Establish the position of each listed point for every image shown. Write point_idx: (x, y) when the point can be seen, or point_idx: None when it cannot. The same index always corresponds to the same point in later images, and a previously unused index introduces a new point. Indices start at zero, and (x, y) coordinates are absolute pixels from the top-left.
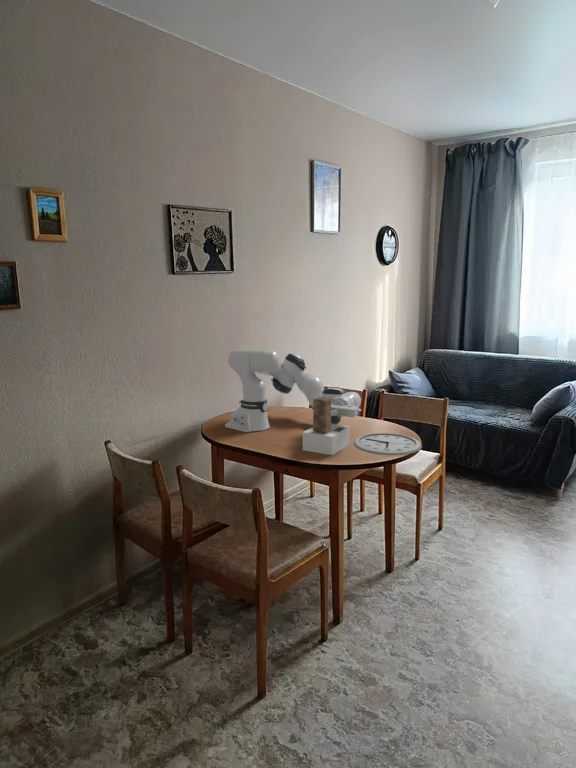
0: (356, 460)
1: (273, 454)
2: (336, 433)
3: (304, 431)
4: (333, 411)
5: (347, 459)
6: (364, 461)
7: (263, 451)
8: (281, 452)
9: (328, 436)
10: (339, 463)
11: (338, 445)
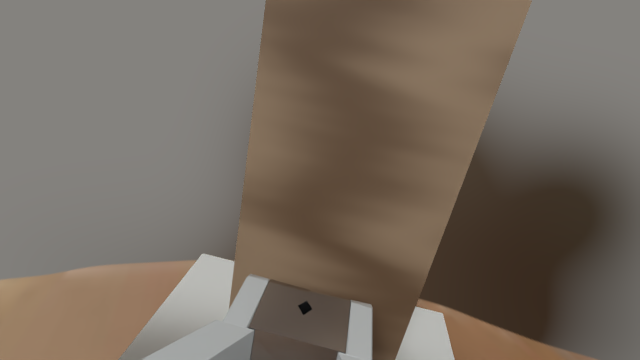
0: (51, 302)
1: (485, 323)
2: (163, 320)
3: (445, 332)
4: (210, 329)
5: (106, 309)
6: (3, 294)
7: (557, 351)
8: (478, 352)
9: (233, 263)
10: (162, 265)
11: None
